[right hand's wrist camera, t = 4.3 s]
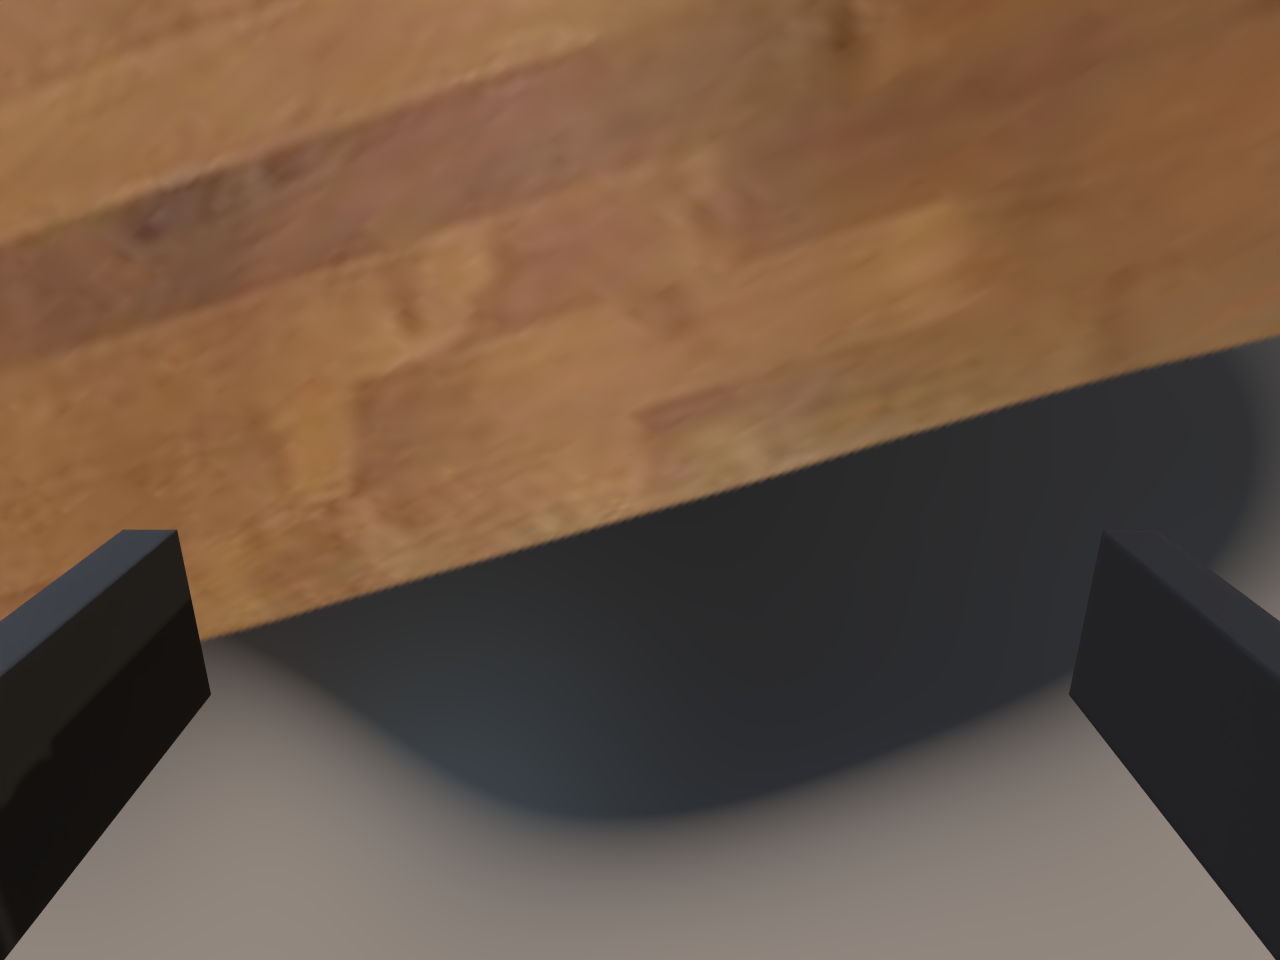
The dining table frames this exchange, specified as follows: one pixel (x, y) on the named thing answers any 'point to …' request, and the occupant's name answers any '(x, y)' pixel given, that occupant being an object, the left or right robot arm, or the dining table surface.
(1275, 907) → the right robot arm
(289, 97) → the dining table surface
